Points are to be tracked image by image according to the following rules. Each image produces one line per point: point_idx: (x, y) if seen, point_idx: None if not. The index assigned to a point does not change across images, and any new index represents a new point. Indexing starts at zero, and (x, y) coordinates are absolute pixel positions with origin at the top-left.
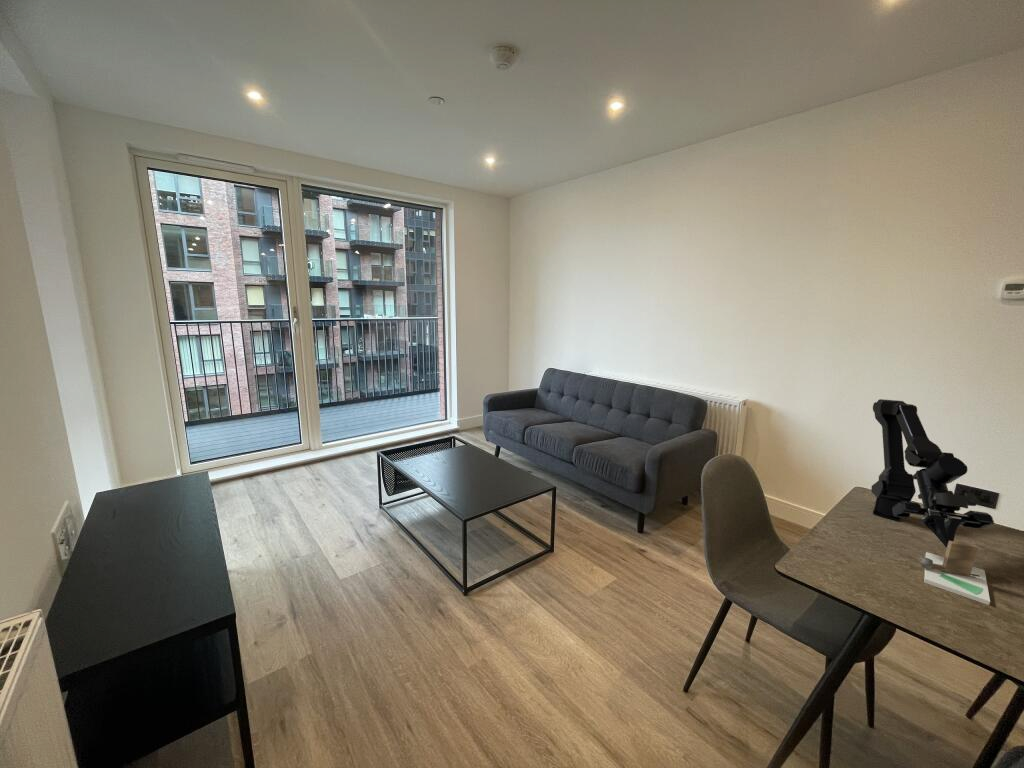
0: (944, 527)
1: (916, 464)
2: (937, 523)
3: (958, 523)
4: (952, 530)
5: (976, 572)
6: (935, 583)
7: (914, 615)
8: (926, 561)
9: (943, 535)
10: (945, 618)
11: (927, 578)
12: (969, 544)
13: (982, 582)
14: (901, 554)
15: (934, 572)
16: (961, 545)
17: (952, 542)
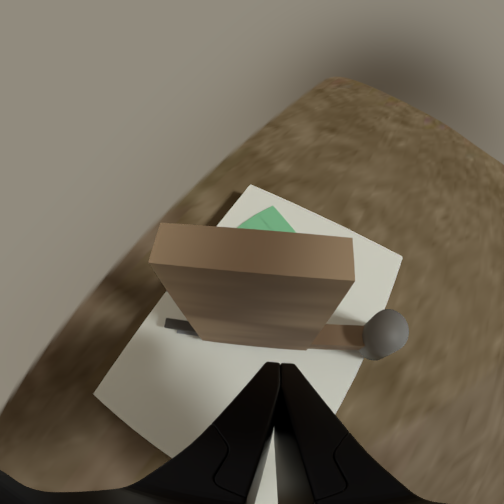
0: (324, 478)
1: None
2: (416, 500)
3: (98, 502)
4: (222, 459)
5: (141, 372)
6: (375, 246)
7: (439, 143)
8: (398, 313)
9: (330, 413)
10: (390, 140)
11: (394, 262)
12: (195, 255)
13: None
14: None
15: (348, 319)
16: (278, 236)
17: (340, 253)
